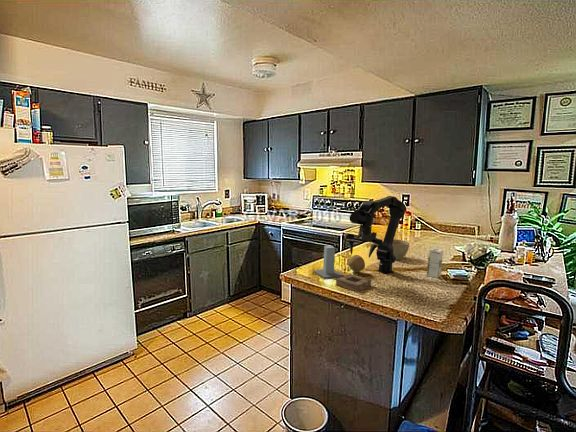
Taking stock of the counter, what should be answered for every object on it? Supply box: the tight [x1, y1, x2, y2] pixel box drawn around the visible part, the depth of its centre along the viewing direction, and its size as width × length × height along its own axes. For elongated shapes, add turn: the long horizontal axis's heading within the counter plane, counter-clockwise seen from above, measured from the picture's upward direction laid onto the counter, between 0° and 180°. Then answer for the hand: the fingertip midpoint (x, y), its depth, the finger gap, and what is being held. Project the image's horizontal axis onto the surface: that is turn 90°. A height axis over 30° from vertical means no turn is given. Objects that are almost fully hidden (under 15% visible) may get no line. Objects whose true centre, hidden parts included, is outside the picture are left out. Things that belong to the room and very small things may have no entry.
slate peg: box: [322, 245, 336, 274], centre depth 174 cm, size 4×4×14 cm
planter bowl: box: [382, 238, 411, 261], centre depth 212 cm, size 16×16×11 cm
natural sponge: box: [347, 254, 366, 274], centre depth 179 cm, size 9×9×10 cm
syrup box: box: [426, 248, 444, 279], centre depth 175 cm, size 6×6×14 cm
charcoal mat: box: [312, 269, 345, 280], centre depth 175 cm, size 12×12×1 cm
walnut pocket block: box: [335, 273, 372, 293], centre depth 158 cm, size 12×12×3 cm
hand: (360, 255), depth 167 cm, fingers open, 9 cm apart
